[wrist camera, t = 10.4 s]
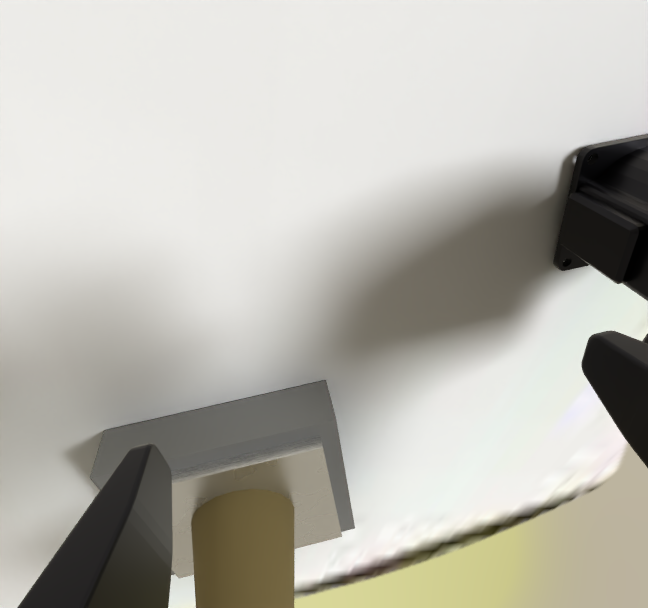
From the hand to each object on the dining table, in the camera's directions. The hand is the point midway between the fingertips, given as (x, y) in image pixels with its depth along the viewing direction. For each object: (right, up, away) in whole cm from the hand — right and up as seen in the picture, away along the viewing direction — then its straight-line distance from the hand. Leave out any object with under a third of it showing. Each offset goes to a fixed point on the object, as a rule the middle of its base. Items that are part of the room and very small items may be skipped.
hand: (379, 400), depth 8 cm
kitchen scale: (-7, -9, +19) cm, 22 cm away
